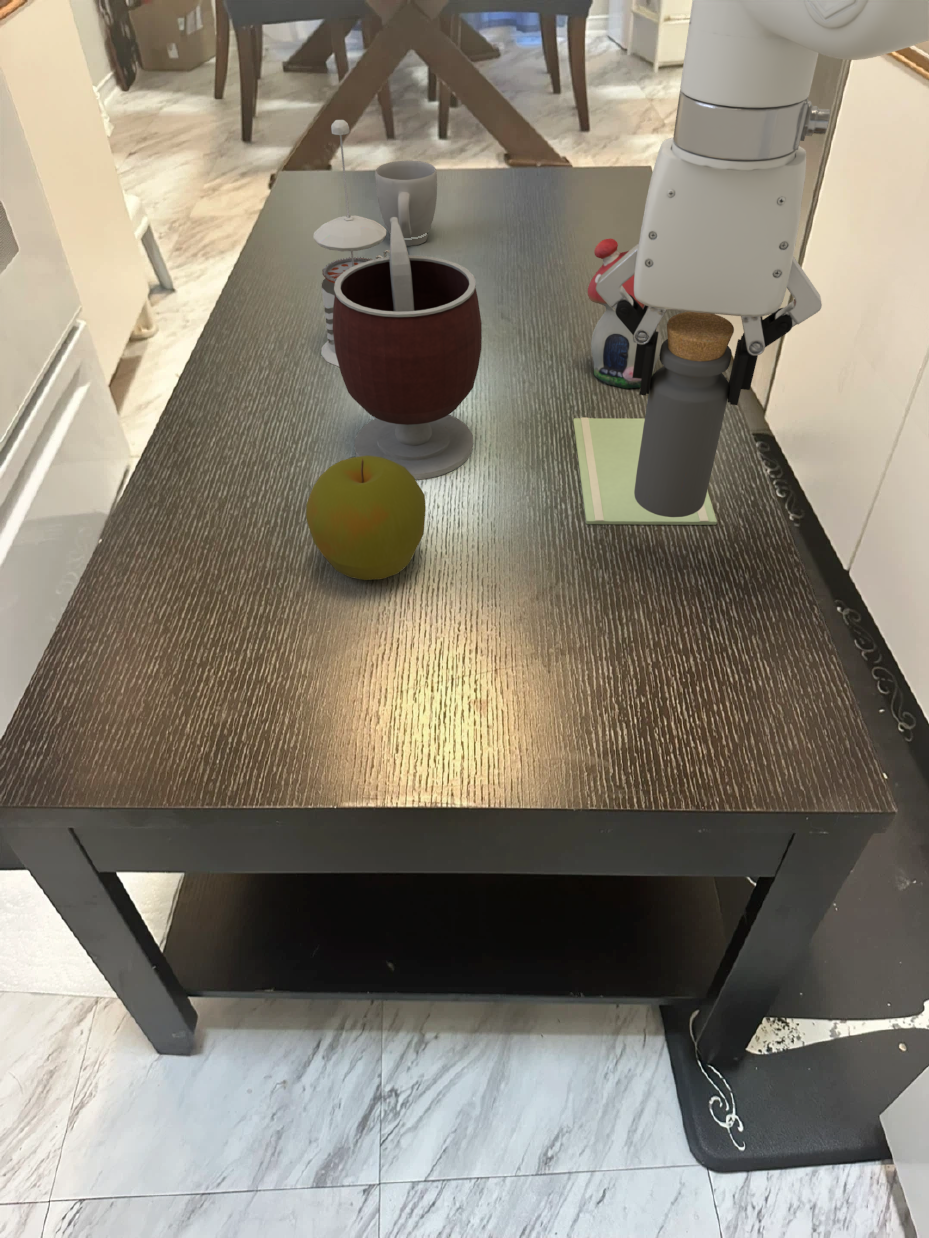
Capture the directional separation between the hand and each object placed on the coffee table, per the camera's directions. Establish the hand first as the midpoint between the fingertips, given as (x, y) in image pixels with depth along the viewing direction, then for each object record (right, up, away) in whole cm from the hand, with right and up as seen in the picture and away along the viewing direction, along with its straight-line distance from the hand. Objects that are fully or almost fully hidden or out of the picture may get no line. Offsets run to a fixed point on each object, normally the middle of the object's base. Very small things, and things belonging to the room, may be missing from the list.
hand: (688, 389), depth 67 cm
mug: (-25, +38, +65) cm, 79 cm away
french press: (-29, +15, +40) cm, 52 cm away
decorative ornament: (+1, +11, +36) cm, 37 cm away
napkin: (+1, -2, +22) cm, 22 cm away
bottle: (0, -7, +7) cm, 10 cm away
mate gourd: (-22, +1, +26) cm, 34 cm away
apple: (-25, -13, +12) cm, 30 cm away
